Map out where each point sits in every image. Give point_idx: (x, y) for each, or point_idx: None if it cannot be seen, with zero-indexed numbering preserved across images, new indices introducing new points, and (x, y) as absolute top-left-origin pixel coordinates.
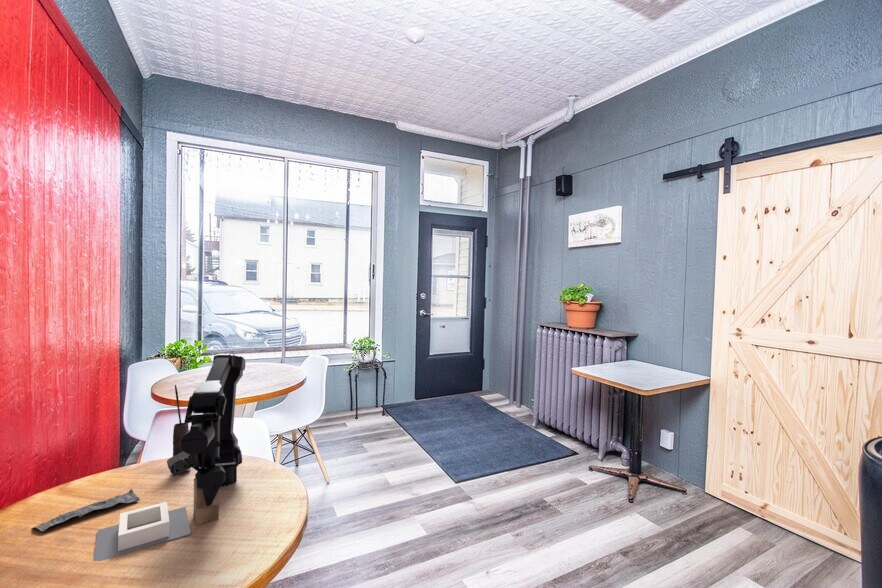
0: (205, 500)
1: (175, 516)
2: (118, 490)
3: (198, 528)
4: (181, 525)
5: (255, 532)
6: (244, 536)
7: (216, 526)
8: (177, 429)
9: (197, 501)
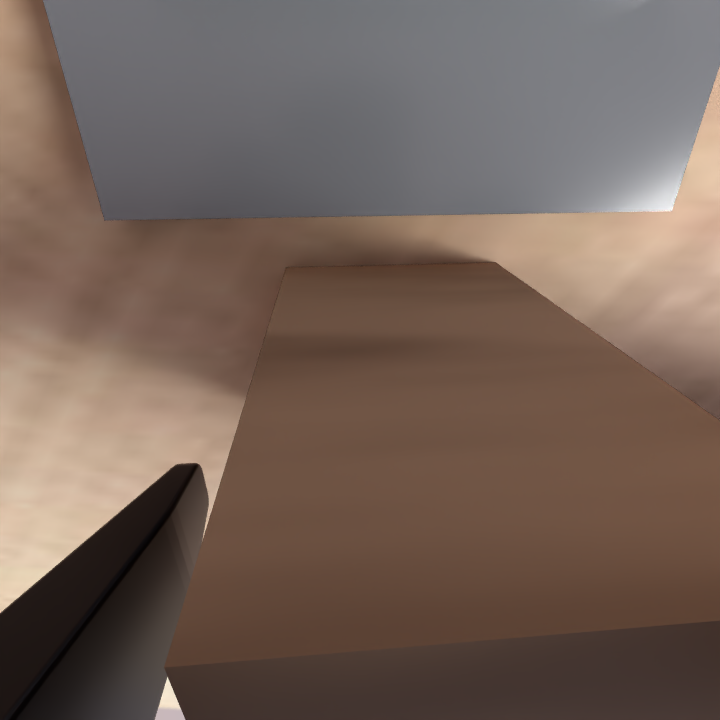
0: (95, 534)
1: (549, 95)
2: None
3: (255, 282)
4: (311, 144)
5: (42, 566)
6: (13, 521)
7: (220, 397)
8: None
9: (252, 405)
